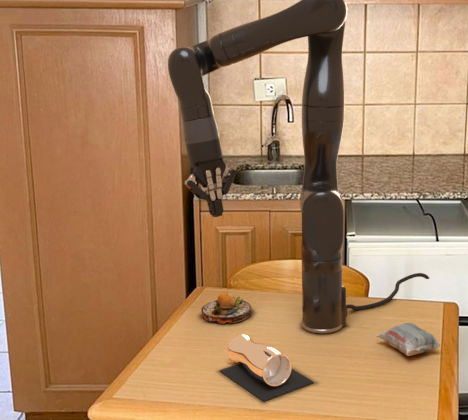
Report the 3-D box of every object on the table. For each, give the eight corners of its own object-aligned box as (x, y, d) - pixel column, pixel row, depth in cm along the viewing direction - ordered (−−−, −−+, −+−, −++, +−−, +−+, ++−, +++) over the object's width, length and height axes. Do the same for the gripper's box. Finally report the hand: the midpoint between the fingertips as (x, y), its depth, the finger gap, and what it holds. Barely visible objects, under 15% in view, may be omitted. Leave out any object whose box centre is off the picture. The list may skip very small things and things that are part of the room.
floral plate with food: (254, 305, 200) (253, 276, 198) (248, 324, 188) (247, 294, 186) (205, 305, 200) (204, 276, 198) (197, 324, 189) (195, 294, 187)
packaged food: (407, 364, 168) (408, 342, 166) (375, 343, 178) (376, 322, 176) (441, 355, 172) (442, 334, 170) (408, 335, 182) (408, 315, 180)
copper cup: (241, 370, 170) (278, 394, 158) (219, 354, 167) (255, 376, 154) (260, 342, 172) (298, 364, 160) (238, 325, 168) (276, 346, 156)
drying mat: (219, 371, 166) (219, 370, 166) (268, 355, 173) (268, 354, 173) (263, 402, 154) (263, 400, 153) (313, 383, 160) (313, 381, 160)
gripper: (184, 144, 169) (200, 224, 172) (236, 132, 177) (251, 209, 180) (167, 145, 175) (183, 222, 178) (218, 134, 183) (233, 208, 186)
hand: (217, 216), depth 179 cm, fingers closed
